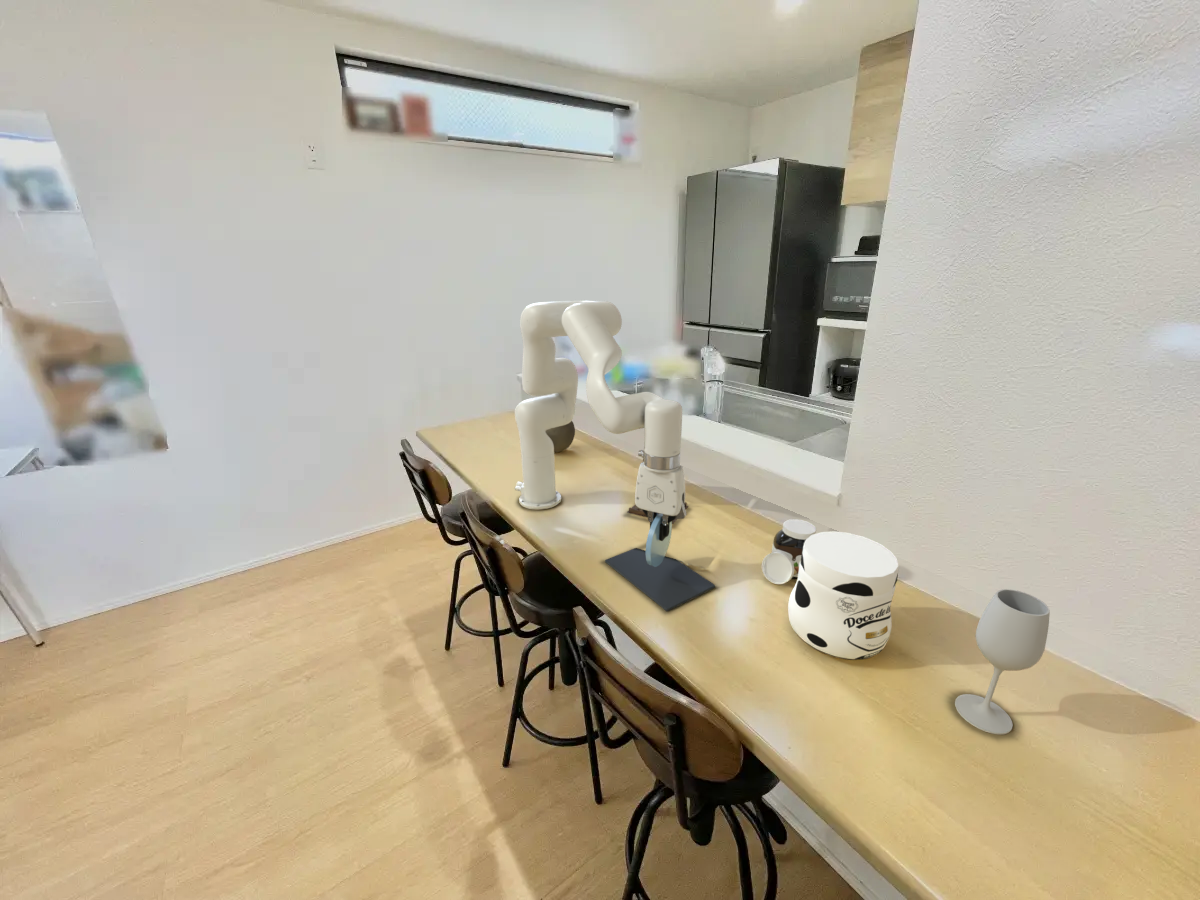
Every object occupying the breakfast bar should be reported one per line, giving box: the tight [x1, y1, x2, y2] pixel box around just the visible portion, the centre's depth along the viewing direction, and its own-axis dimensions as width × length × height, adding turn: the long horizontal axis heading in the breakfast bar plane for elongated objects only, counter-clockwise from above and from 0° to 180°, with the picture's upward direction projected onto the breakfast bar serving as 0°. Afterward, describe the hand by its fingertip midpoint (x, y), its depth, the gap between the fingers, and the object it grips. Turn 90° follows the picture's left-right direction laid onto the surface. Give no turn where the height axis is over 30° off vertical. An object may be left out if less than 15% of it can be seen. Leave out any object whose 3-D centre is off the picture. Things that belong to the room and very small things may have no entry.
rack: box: [626, 501, 689, 525], centre depth 139 cm, size 14×12×6 cm
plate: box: [645, 513, 673, 567], centre depth 109 cm, size 1×12×12 cm, turn 150°
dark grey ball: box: [546, 420, 576, 453], centre depth 184 cm, size 14×14×15 cm
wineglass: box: [954, 588, 1051, 736], centre depth 73 cm, size 8×8×21 cm
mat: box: [604, 547, 716, 612], centre depth 112 cm, size 22×14×1 cm, turn 34°
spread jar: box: [761, 518, 817, 585], centre depth 109 cm, size 12×11×12 cm
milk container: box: [787, 530, 899, 661], centre depth 90 cm, size 17×17×18 cm
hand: (659, 536), depth 109 cm, fingers closed on plate, 1 cm apart
